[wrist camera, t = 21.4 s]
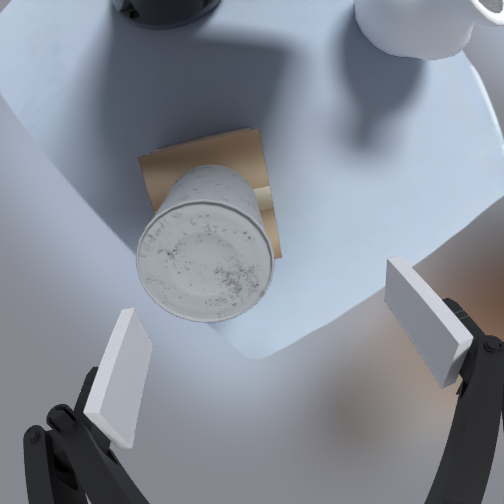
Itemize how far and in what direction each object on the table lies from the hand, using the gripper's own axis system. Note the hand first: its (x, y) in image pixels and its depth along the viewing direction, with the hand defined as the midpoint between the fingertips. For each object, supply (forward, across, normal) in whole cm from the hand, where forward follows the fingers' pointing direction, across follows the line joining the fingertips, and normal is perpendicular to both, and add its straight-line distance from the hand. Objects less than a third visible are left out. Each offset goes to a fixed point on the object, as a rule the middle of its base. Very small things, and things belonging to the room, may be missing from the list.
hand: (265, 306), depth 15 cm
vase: (+28, +25, +21) cm, 43 cm away
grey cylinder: (+18, -4, 0) cm, 19 cm away
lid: (+19, -3, 0) cm, 19 cm away
